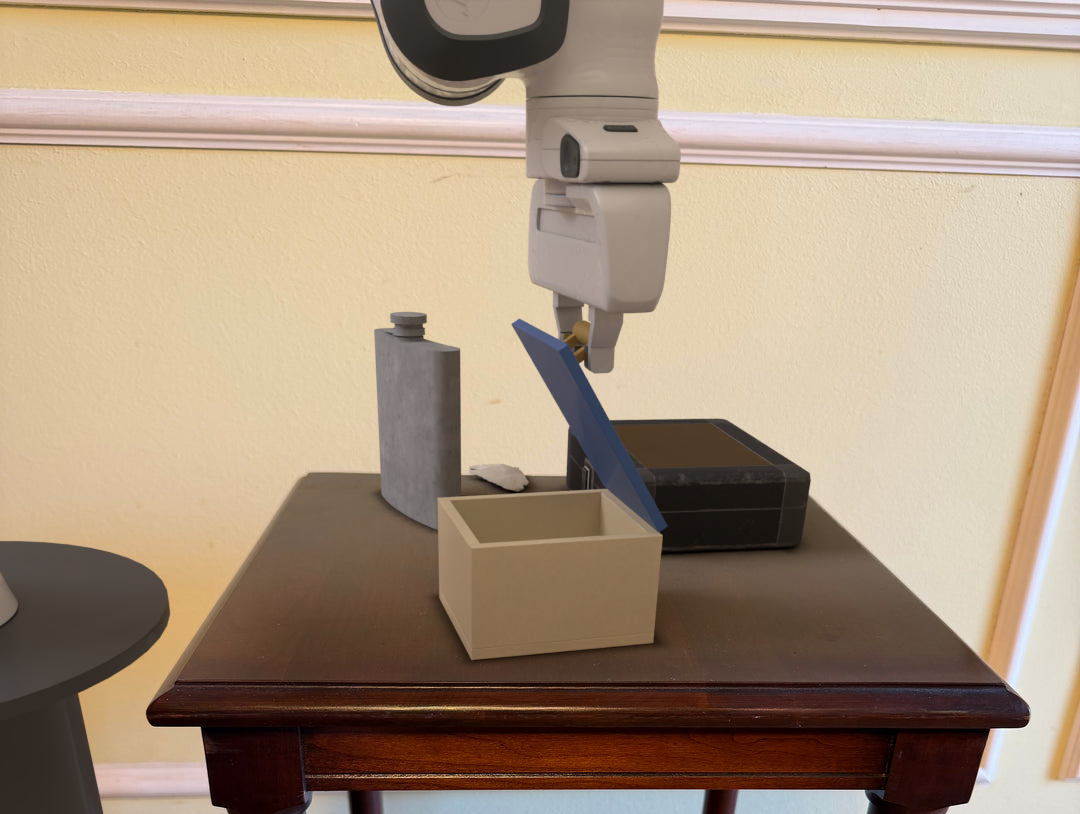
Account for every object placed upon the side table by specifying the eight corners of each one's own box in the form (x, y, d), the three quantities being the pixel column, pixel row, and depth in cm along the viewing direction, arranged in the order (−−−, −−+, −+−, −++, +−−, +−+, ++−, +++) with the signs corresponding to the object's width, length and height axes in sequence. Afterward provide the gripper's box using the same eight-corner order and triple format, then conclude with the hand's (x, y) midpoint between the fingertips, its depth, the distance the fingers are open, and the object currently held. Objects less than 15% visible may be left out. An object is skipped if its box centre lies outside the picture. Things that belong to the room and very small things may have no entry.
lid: (558, 350, 68) (615, 311, 68) (510, 324, 79) (559, 289, 79) (659, 532, 77) (710, 497, 77) (603, 486, 88) (648, 455, 87)
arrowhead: (513, 452, 125) (548, 481, 118) (513, 466, 126) (547, 496, 119) (461, 458, 123) (493, 488, 115) (461, 473, 124) (493, 504, 116)
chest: (471, 660, 77) (470, 547, 73) (439, 598, 88) (437, 497, 84) (653, 643, 81) (663, 535, 77) (601, 585, 92) (607, 488, 88)
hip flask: (466, 528, 105) (465, 322, 96) (431, 533, 104) (426, 323, 94) (402, 489, 117) (396, 302, 108) (369, 493, 115) (360, 303, 106)
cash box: (557, 486, 120) (560, 419, 117) (721, 481, 124) (728, 416, 120) (610, 557, 99) (615, 478, 95) (806, 549, 102) (819, 473, 99)
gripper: (507, 151, 77) (508, 344, 84) (593, 148, 60) (586, 392, 66) (587, 151, 79) (582, 341, 85) (693, 150, 61) (676, 388, 68)
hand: (584, 364), depth 76 cm, fingers closed on lid, 5 cm apart
